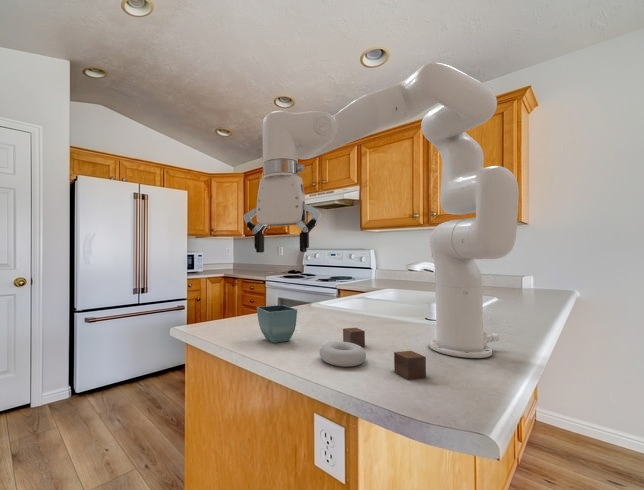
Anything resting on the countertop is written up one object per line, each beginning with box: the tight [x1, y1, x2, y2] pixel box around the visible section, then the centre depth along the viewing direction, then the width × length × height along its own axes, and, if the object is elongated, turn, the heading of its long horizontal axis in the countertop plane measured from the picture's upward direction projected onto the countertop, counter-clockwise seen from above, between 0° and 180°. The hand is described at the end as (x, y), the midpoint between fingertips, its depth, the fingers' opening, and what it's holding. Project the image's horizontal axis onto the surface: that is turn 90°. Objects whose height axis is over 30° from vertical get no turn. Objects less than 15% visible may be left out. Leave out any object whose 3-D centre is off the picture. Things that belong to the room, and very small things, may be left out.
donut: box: [318, 341, 367, 368], centre depth 71 cm, size 10×4×10 cm
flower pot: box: [256, 304, 298, 344], centre depth 88 cm, size 9×9×9 cm
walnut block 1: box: [342, 327, 366, 348], centre depth 83 cm, size 4×4×4 cm
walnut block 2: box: [393, 350, 427, 380], centre depth 62 cm, size 4×4×4 cm
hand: (281, 252), depth 68 cm, fingers open, 9 cm apart
